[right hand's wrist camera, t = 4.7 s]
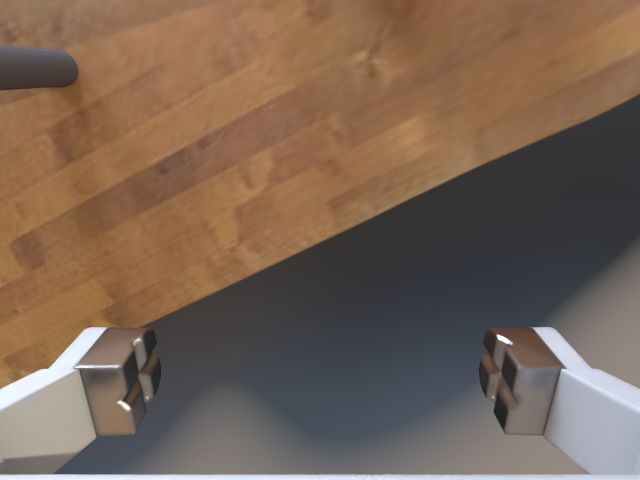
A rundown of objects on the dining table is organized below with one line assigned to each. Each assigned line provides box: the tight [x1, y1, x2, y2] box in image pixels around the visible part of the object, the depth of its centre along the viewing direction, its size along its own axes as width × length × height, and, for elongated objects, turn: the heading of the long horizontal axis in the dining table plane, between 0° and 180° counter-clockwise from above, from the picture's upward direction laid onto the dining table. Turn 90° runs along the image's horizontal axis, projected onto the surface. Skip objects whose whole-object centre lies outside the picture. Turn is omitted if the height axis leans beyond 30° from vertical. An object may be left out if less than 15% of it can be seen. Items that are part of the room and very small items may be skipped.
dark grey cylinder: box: [0, 45, 78, 90], centre depth 44 cm, size 4×4×19 cm
